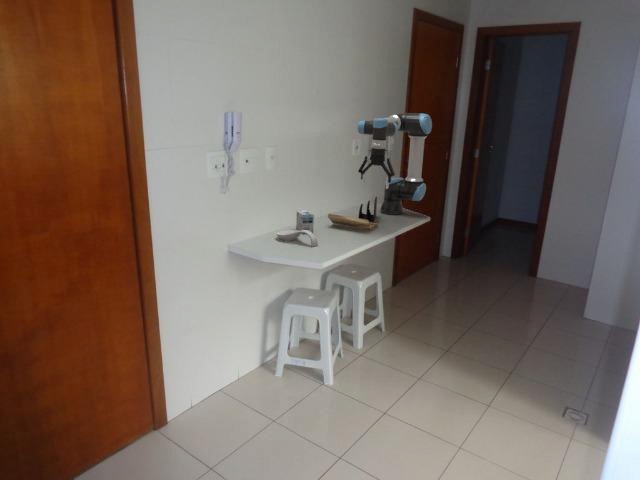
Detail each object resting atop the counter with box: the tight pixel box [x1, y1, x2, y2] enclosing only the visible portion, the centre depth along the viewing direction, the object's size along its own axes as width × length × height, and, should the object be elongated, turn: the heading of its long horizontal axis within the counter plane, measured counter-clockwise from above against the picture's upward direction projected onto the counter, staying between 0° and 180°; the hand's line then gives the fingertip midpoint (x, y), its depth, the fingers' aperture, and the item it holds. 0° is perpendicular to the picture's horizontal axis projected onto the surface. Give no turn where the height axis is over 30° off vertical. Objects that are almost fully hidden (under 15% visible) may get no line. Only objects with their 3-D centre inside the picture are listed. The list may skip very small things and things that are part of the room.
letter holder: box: [358, 196, 378, 223], centre depth 289 cm, size 10×20×14 cm, turn 171°
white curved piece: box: [276, 229, 319, 248], centre depth 238 cm, size 24×12×7 cm, turn 55°
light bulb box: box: [295, 209, 315, 235], centre depth 257 cm, size 11×7×11 cm, turn 22°
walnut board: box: [337, 222, 379, 231], centre depth 275 cm, size 9×24×2 cm, turn 64°
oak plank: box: [327, 213, 373, 231], centre depth 266 cm, size 10×24×2 cm
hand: (375, 187), depth 257 cm, fingers open, 13 cm apart
